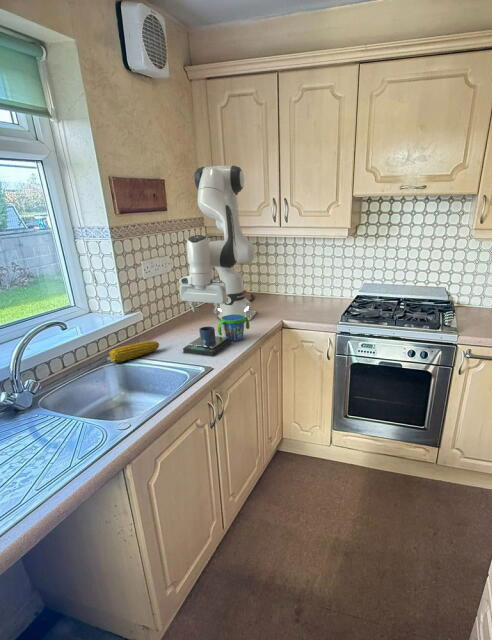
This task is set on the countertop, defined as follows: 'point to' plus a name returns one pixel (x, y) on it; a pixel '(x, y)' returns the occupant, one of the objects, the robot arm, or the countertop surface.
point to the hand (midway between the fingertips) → (205, 312)
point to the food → (132, 351)
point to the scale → (206, 349)
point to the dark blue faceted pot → (207, 334)
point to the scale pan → (208, 345)
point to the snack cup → (233, 326)
